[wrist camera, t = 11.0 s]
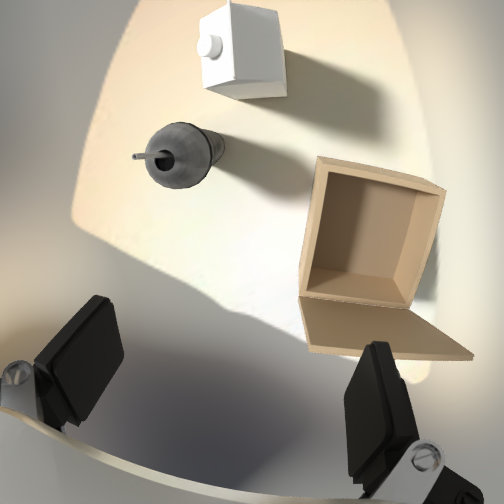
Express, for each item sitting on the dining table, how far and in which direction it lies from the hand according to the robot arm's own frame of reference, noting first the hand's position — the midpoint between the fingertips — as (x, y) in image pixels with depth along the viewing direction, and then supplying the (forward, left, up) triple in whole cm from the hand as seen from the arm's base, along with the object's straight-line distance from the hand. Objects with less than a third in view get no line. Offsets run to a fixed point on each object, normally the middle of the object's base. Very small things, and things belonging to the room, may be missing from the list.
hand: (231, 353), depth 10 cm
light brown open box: (+5, +13, -34) cm, 36 cm away
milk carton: (-14, -4, -34) cm, 37 cm away
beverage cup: (-3, -10, -34) cm, 36 cm away
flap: (+10, +13, -18) cm, 24 cm away
